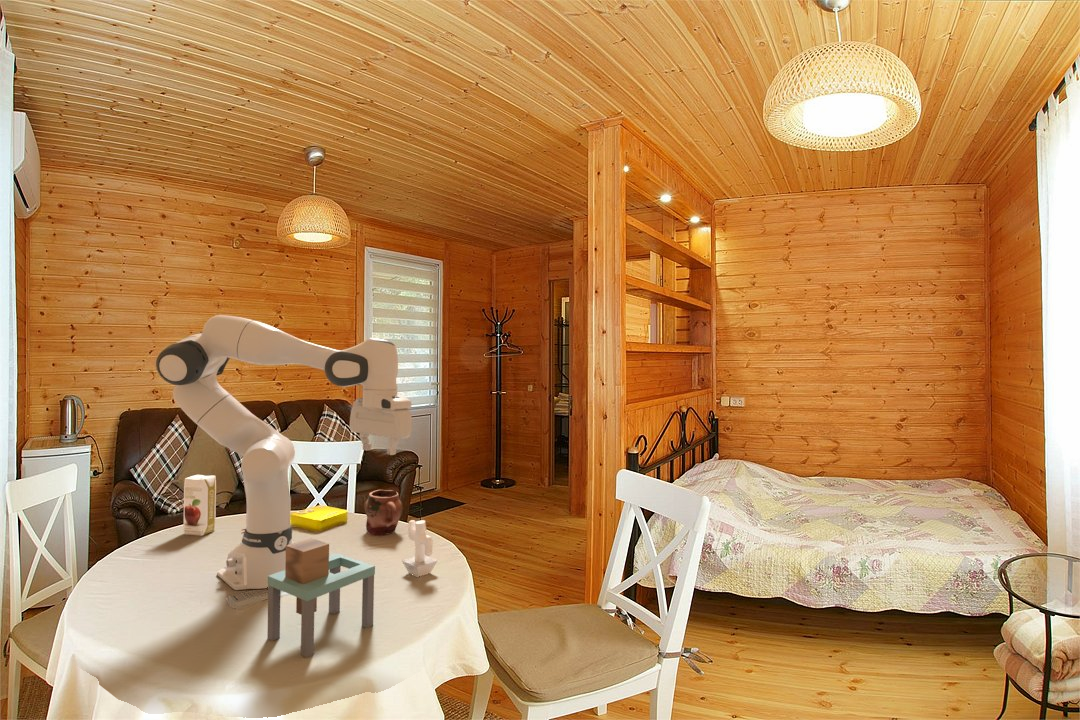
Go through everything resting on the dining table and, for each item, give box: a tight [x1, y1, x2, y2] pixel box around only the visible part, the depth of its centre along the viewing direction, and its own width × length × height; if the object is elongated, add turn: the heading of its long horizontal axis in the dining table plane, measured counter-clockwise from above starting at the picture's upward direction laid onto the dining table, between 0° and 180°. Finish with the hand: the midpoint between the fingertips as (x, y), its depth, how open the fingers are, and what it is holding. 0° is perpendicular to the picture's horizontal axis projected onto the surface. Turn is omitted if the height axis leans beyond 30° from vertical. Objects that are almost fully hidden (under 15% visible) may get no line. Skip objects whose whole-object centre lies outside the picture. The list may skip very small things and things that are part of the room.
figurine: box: [401, 519, 438, 578], centre depth 169 cm, size 7×9×15 cm
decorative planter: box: [363, 489, 403, 537], centre depth 204 cm, size 20×12×14 cm, turn 42°
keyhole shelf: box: [266, 552, 376, 659], centre depth 134 cm, size 18×14×14 cm
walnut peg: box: [285, 537, 330, 615], centre depth 130 cm, size 6×6×15 cm
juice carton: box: [183, 474, 217, 537], centre depth 199 cm, size 8×9×19 cm
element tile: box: [290, 504, 348, 533], centre depth 213 cm, size 15×15×5 cm
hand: (378, 452), depth 155 cm, fingers open, 8 cm apart
